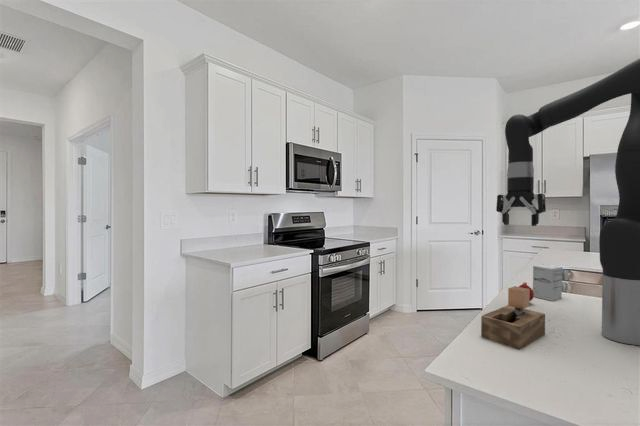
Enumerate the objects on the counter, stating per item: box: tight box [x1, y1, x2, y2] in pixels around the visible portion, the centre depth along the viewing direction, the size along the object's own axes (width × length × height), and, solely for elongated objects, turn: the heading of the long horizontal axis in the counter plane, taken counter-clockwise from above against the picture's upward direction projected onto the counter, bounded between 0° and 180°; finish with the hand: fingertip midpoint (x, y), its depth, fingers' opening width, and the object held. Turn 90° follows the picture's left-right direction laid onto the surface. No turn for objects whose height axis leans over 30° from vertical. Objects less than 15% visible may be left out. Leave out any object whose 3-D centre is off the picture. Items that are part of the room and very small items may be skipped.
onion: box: [518, 281, 535, 302], centre depth 122 cm, size 6×6×8 cm
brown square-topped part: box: [507, 286, 531, 321], centre depth 95 cm, size 4×4×13 cm
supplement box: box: [532, 263, 563, 302], centre depth 129 cm, size 7×7×13 cm
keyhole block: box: [480, 304, 546, 350], centre depth 93 cm, size 10×16×6 cm, turn 126°
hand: (519, 225), depth 109 cm, fingers open, 8 cm apart
